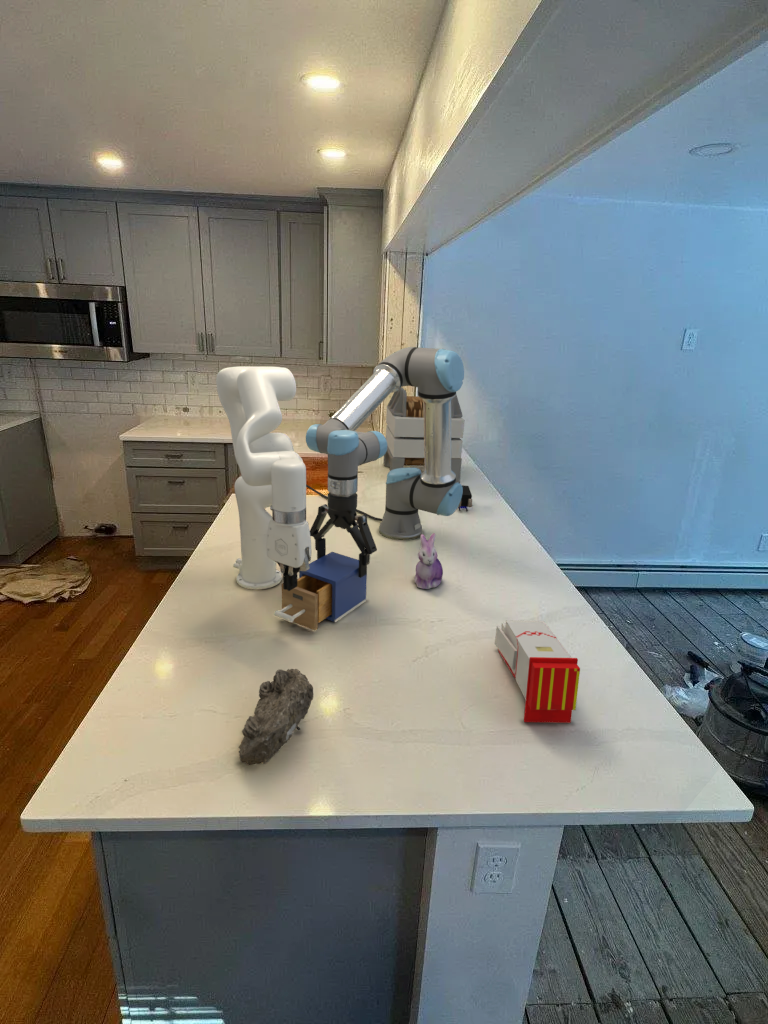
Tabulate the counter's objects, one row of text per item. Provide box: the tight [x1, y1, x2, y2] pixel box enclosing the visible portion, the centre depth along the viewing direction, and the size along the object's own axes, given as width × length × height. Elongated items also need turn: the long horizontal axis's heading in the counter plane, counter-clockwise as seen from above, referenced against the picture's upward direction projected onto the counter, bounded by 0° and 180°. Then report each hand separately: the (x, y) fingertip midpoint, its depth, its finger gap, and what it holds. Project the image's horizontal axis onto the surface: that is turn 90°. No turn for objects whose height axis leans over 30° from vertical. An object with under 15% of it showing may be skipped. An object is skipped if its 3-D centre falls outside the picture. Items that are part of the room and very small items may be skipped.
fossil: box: [238, 668, 314, 766], centre depth 104 cm, size 22×10×15 cm
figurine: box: [413, 532, 444, 590], centre depth 162 cm, size 9×10×15 cm
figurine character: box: [457, 484, 473, 512], centre depth 229 cm, size 7×8×15 cm
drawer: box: [273, 575, 332, 631], centre depth 140 cm, size 18×10×9 cm, turn 147°
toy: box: [494, 619, 581, 724], centre depth 121 cm, size 12×13×30 cm
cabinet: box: [298, 551, 368, 623], centre depth 149 cm, size 14×12×12 cm
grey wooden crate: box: [383, 387, 465, 483], centre depth 268 cm, size 34×33×41 cm
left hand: (290, 587), depth 133 cm, fingers closed
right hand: (341, 568), depth 150 cm, fingers open, 13 cm apart
